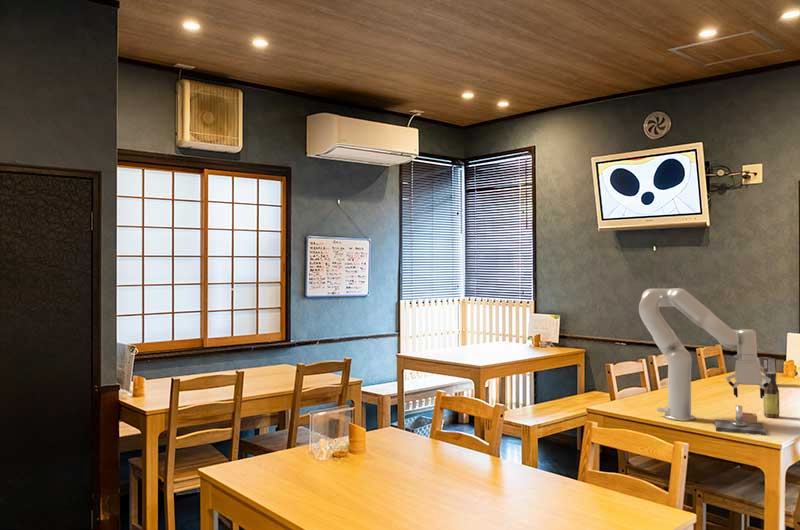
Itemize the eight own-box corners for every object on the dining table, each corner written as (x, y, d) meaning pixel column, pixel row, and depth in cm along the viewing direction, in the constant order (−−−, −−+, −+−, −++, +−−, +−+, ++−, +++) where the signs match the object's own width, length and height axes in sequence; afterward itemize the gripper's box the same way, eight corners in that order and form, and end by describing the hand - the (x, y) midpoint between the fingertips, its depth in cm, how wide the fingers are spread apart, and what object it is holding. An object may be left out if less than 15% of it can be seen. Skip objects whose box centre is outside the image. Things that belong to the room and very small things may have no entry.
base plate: (716, 430, 269) (716, 427, 269) (714, 422, 284) (714, 419, 284) (765, 435, 262) (765, 431, 262) (761, 426, 276) (761, 423, 276)
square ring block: (738, 423, 283) (738, 415, 283) (737, 419, 290) (737, 412, 290) (757, 424, 280) (757, 416, 280) (755, 421, 287) (755, 413, 287)
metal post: (731, 426, 271) (731, 406, 271) (731, 423, 277) (730, 404, 277) (747, 427, 269) (747, 407, 269) (746, 424, 274) (746, 405, 274)
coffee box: (777, 386, 377) (777, 358, 377) (768, 387, 375) (768, 359, 375) (763, 383, 385) (763, 356, 386) (755, 384, 383) (755, 357, 384)
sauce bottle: (781, 418, 292) (781, 374, 292) (766, 418, 293) (766, 373, 294) (776, 415, 298) (776, 372, 299) (761, 415, 300) (761, 371, 300)
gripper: (725, 358, 285) (727, 398, 285) (770, 359, 278) (772, 399, 278) (724, 356, 292) (726, 395, 292) (768, 357, 285) (770, 396, 285)
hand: (749, 397), depth 285 cm, fingers open, 9 cm apart
